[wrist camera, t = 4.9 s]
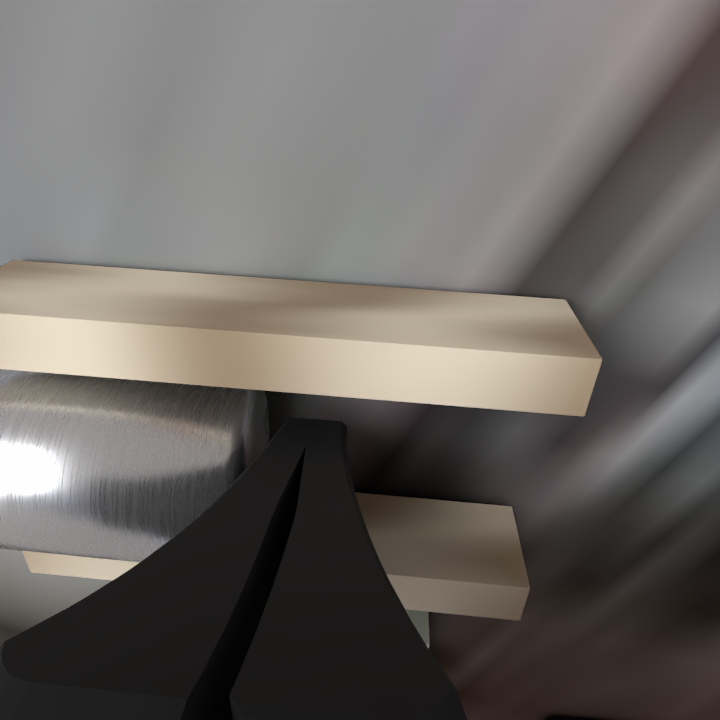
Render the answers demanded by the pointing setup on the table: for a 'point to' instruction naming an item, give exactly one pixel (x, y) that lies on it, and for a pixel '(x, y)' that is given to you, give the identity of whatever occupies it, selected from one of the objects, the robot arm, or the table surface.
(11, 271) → the parallel rails
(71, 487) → the axle
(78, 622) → the robot arm
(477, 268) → the table surface
